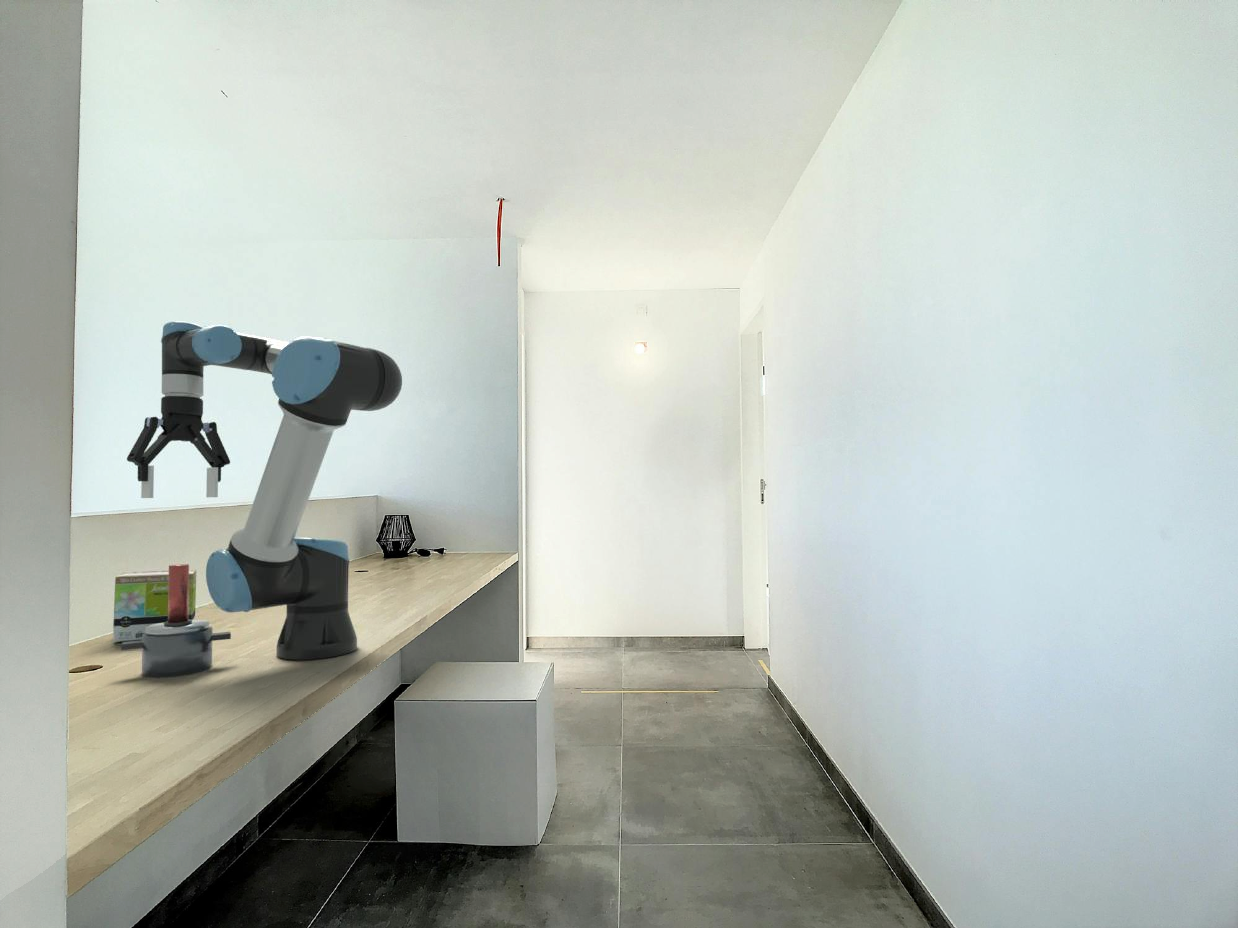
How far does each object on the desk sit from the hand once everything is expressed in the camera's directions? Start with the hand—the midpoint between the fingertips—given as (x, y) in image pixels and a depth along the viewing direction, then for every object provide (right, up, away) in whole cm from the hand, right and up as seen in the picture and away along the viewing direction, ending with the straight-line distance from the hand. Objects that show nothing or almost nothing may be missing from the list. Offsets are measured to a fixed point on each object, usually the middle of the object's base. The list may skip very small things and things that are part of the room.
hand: (181, 497), depth 147 cm
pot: (+10, -31, -17) cm, 37 cm away
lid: (+10, -24, -17) cm, 31 cm away
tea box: (-14, -33, +14) cm, 38 cm away
